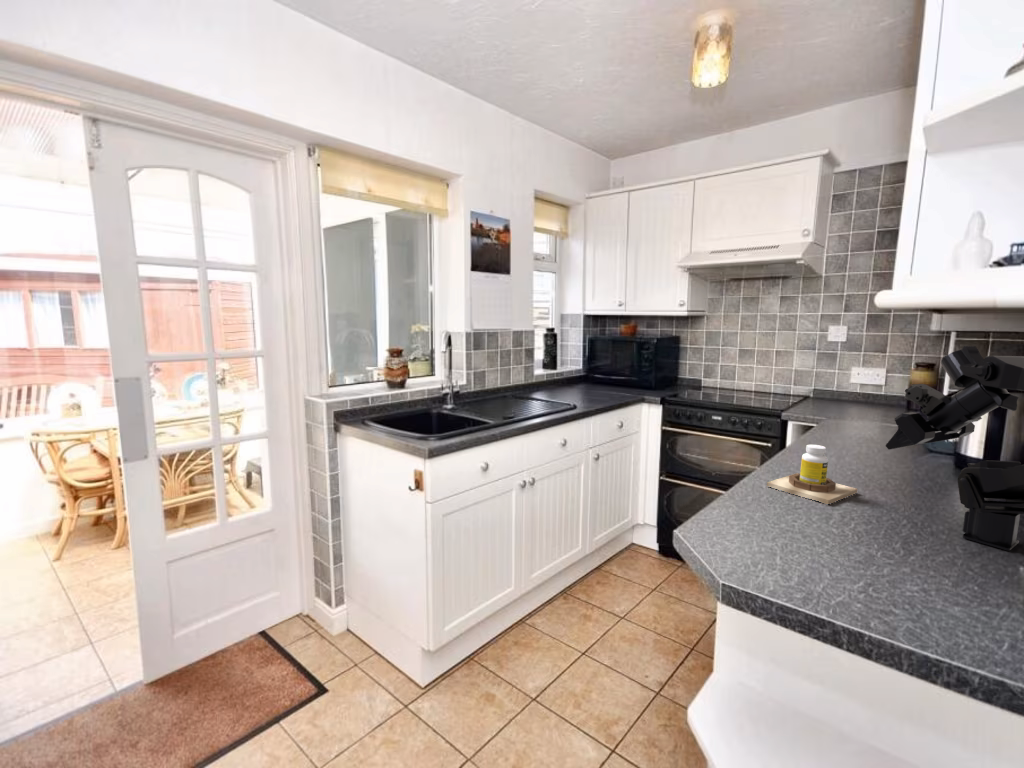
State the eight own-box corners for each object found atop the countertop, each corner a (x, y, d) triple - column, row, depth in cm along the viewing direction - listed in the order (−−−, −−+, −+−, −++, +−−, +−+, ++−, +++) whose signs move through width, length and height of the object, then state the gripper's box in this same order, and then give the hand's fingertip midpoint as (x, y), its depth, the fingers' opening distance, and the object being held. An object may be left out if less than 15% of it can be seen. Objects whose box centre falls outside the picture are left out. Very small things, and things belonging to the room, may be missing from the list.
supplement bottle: (824, 491, 114) (828, 450, 113) (797, 486, 117) (801, 446, 116) (826, 485, 118) (830, 445, 117) (800, 480, 122) (804, 442, 120)
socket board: (856, 493, 116) (858, 482, 116) (828, 505, 109) (829, 493, 108) (796, 477, 128) (797, 467, 128) (766, 487, 120) (767, 476, 120)
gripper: (963, 371, 104) (900, 412, 116) (910, 374, 97) (848, 418, 109) (1007, 414, 98) (935, 453, 110) (954, 421, 91) (883, 462, 102)
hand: (900, 445), depth 108 cm, fingers open, 9 cm apart
